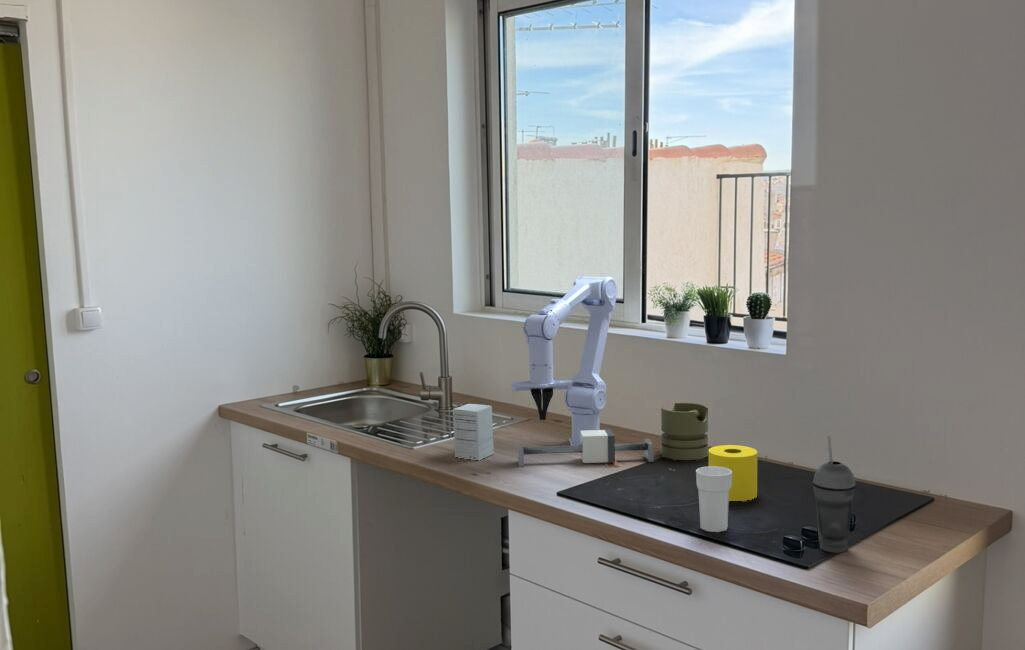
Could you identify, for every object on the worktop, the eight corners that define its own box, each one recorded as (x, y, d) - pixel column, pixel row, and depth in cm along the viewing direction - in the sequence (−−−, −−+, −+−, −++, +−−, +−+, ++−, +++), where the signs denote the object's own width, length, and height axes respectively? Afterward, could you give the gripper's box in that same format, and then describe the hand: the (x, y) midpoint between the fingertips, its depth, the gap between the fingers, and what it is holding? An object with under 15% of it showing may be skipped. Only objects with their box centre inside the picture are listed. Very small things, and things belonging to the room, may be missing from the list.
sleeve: (583, 463, 223) (582, 436, 222) (580, 456, 229) (580, 430, 228) (608, 462, 223) (607, 435, 222) (604, 455, 229) (604, 429, 228)
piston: (717, 406, 228) (690, 414, 220) (717, 454, 230) (691, 463, 222) (678, 400, 236) (651, 408, 228) (678, 447, 238) (652, 455, 230)
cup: (692, 522, 180) (692, 467, 179) (725, 520, 180) (725, 465, 179) (701, 534, 173) (701, 476, 172) (736, 532, 174) (736, 475, 173)
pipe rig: (519, 470, 220) (518, 451, 219) (517, 458, 231) (517, 440, 230) (655, 465, 221) (655, 446, 220) (647, 453, 232) (647, 435, 231)
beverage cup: (838, 558, 160) (840, 444, 157) (803, 547, 165) (804, 437, 163) (863, 548, 164) (865, 437, 161) (828, 537, 170) (829, 430, 167)
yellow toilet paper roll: (707, 486, 203) (707, 444, 202) (755, 488, 201) (755, 445, 200) (709, 501, 193) (709, 456, 192) (759, 502, 191) (759, 457, 190)
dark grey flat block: (608, 462, 223) (608, 436, 222) (604, 455, 229) (604, 429, 229) (615, 462, 223) (614, 435, 222) (611, 455, 229) (610, 429, 229)
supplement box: (470, 451, 239) (468, 402, 238) (494, 454, 235) (493, 405, 234) (453, 458, 233) (451, 408, 231) (478, 461, 229) (476, 411, 228)
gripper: (511, 367, 221) (513, 423, 222) (572, 365, 221) (573, 421, 223) (510, 363, 228) (512, 417, 229) (569, 361, 228) (571, 415, 230)
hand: (542, 419), depth 226 cm, fingers closed
